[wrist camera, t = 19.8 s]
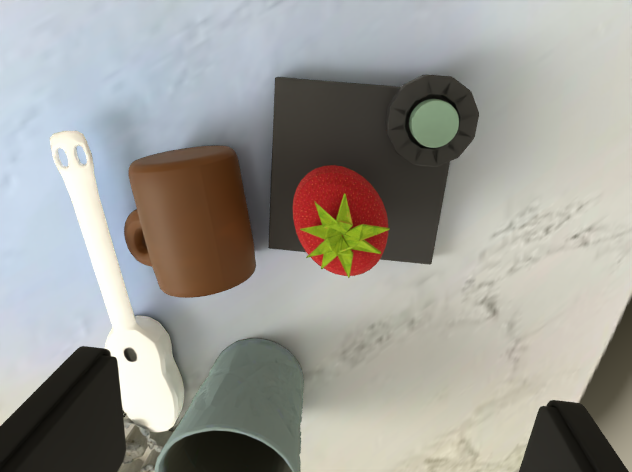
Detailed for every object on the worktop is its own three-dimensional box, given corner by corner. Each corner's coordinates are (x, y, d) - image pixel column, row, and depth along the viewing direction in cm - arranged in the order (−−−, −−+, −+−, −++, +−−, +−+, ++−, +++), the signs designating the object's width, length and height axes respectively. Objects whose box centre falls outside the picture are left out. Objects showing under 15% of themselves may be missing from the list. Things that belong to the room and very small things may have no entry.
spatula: (52, 131, 35) (27, 135, 33) (119, 122, 35) (98, 126, 32) (141, 414, 45) (127, 436, 42) (195, 412, 44) (185, 434, 41)
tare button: (412, 96, 30) (415, 98, 28) (457, 100, 29) (463, 102, 28) (405, 142, 31) (408, 145, 29) (449, 146, 31) (454, 149, 29)
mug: (144, 147, 38) (169, 248, 41) (61, 167, 32) (98, 284, 35) (257, 142, 32) (276, 260, 35) (182, 165, 26) (213, 306, 29)
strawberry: (358, 136, 32) (360, 163, 23) (397, 227, 34) (414, 286, 25) (285, 169, 33) (259, 208, 24) (328, 254, 35) (318, 321, 26)
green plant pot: (193, 391, 43) (136, 504, 32) (230, 310, 40) (181, 405, 28) (287, 432, 44) (264, 556, 33) (332, 356, 40) (323, 466, 29)
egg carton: (108, 474, 48) (86, 509, 44) (69, 422, 46) (42, 454, 42) (191, 450, 46) (175, 484, 42) (154, 393, 44) (134, 424, 40)
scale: (278, 62, 32) (271, 62, 29) (474, 78, 31) (486, 79, 29) (271, 242, 37) (264, 256, 34) (440, 259, 36) (447, 275, 33)
